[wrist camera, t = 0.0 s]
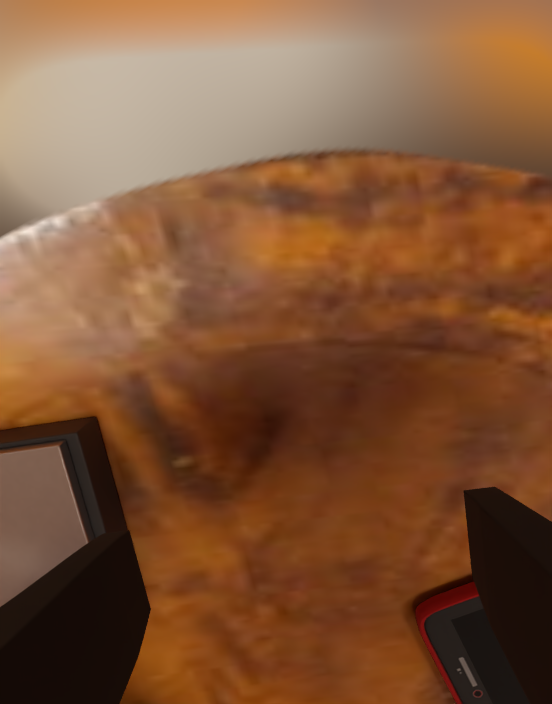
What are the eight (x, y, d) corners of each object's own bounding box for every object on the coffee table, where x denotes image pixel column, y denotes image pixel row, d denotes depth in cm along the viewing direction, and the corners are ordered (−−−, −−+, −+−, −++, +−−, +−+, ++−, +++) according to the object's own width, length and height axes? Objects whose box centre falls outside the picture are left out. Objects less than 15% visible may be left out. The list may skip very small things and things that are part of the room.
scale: (145, 593, 23) (126, 634, 21) (-48, 613, 24) (-86, 654, 22) (96, 415, 21) (69, 438, 19) (-112, 446, 22) (-161, 471, 20)
